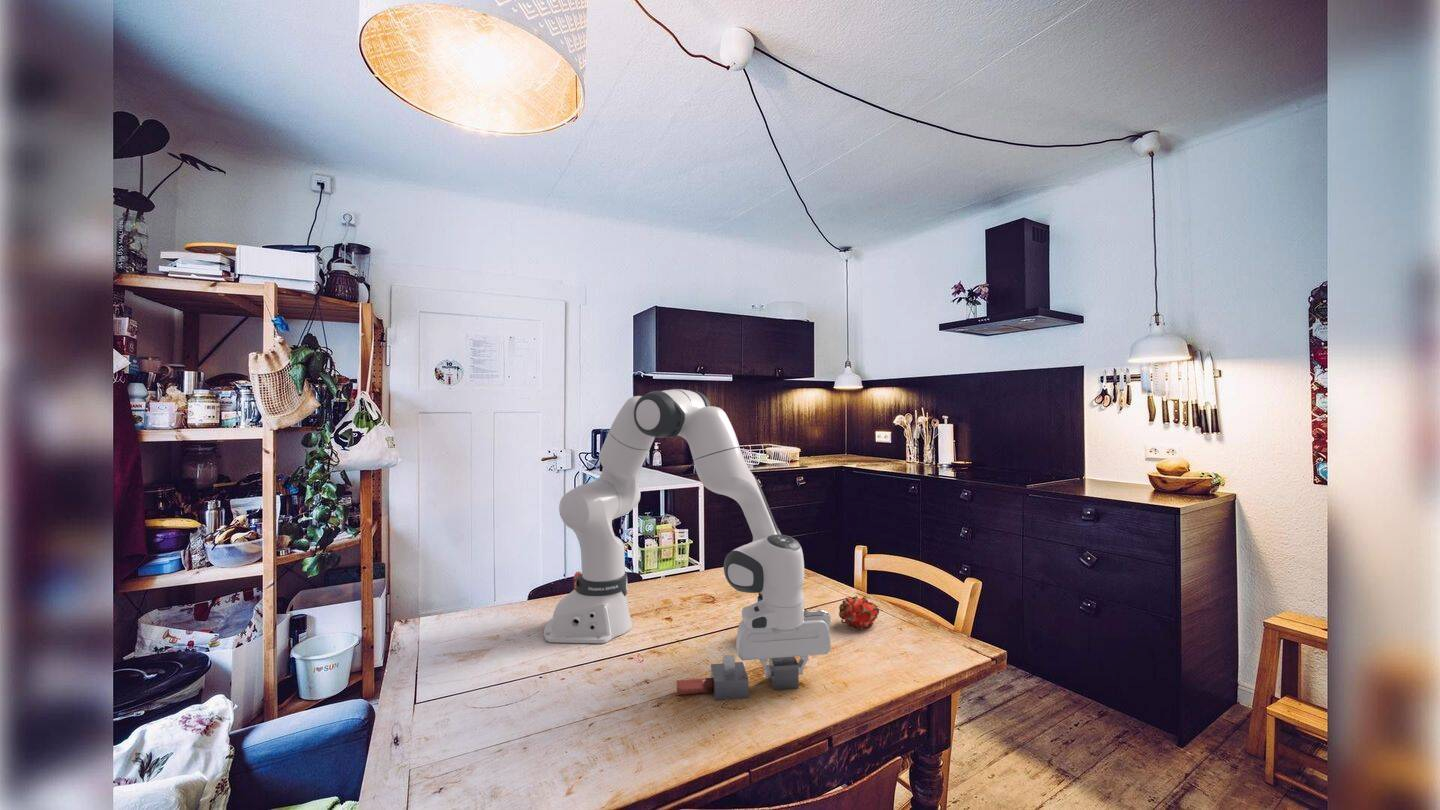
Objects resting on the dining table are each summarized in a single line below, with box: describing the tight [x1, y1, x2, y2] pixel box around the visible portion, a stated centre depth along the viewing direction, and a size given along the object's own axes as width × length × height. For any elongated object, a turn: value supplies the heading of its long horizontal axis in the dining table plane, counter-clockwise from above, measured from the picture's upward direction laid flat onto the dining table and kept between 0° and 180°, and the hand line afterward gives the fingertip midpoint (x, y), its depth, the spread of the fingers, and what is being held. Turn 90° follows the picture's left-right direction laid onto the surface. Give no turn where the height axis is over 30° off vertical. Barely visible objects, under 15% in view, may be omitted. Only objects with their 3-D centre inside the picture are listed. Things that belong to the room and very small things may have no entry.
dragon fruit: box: [838, 595, 880, 630], centre depth 153 cm, size 8×8×12 cm
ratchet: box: [676, 654, 749, 701], centre depth 123 cm, size 14×7×7 cm, turn 97°
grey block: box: [768, 657, 800, 691], centre depth 126 cm, size 5×5×5 cm
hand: (783, 674), depth 126 cm, fingers closed on grey block, 5 cm apart
